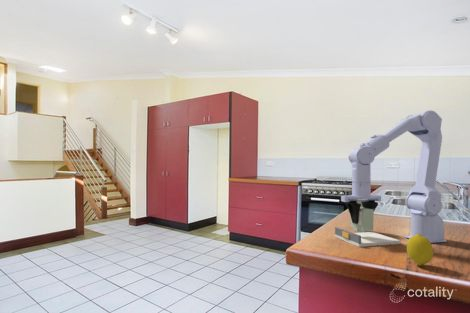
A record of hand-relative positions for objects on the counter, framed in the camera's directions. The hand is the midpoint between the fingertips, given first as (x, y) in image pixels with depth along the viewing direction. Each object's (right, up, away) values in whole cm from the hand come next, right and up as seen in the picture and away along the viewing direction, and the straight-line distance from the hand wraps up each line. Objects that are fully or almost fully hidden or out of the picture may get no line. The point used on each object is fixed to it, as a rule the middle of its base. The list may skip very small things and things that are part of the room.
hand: (361, 222), depth 91 cm
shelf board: (+2, -6, 0) cm, 6 cm away
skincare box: (+6, -7, +13) cm, 15 cm away
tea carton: (0, -2, 0) cm, 2 cm away
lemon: (+4, -5, -23) cm, 24 cm away
